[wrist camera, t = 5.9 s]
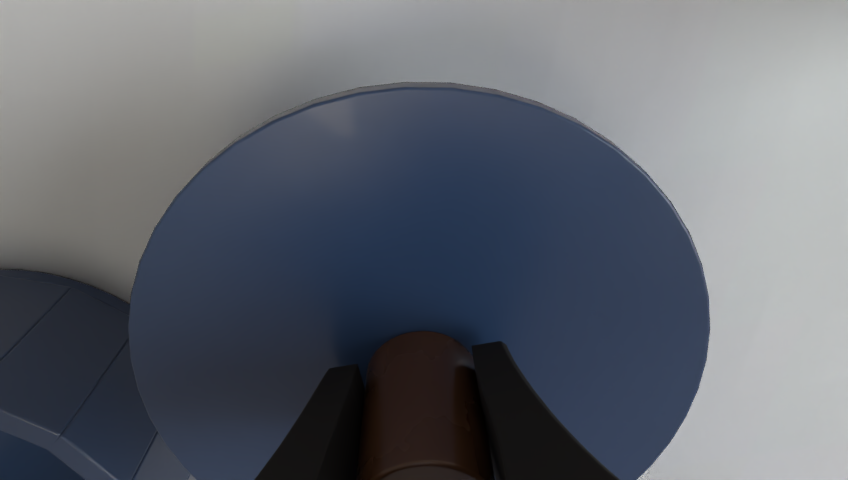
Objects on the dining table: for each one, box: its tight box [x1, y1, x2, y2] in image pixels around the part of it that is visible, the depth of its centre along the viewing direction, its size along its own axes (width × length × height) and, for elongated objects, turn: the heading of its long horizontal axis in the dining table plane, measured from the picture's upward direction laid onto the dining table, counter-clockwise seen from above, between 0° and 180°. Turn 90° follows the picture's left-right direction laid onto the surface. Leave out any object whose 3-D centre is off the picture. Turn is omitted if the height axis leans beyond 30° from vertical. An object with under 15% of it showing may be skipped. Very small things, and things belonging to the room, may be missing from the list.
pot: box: [0, 270, 196, 480], centre depth 19 cm, size 11×11×6 cm
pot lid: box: [128, 82, 710, 480], centre depth 12 cm, size 12×12×5 cm
